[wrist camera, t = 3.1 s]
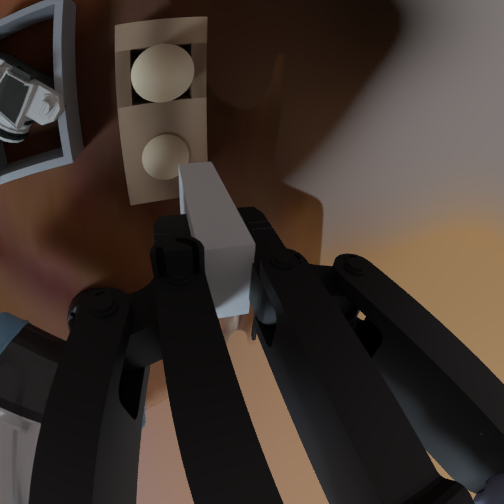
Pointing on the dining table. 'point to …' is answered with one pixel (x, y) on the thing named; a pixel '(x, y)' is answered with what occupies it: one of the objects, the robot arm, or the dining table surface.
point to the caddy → (64, 81)
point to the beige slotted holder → (160, 110)
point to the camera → (25, 98)
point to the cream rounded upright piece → (162, 73)
